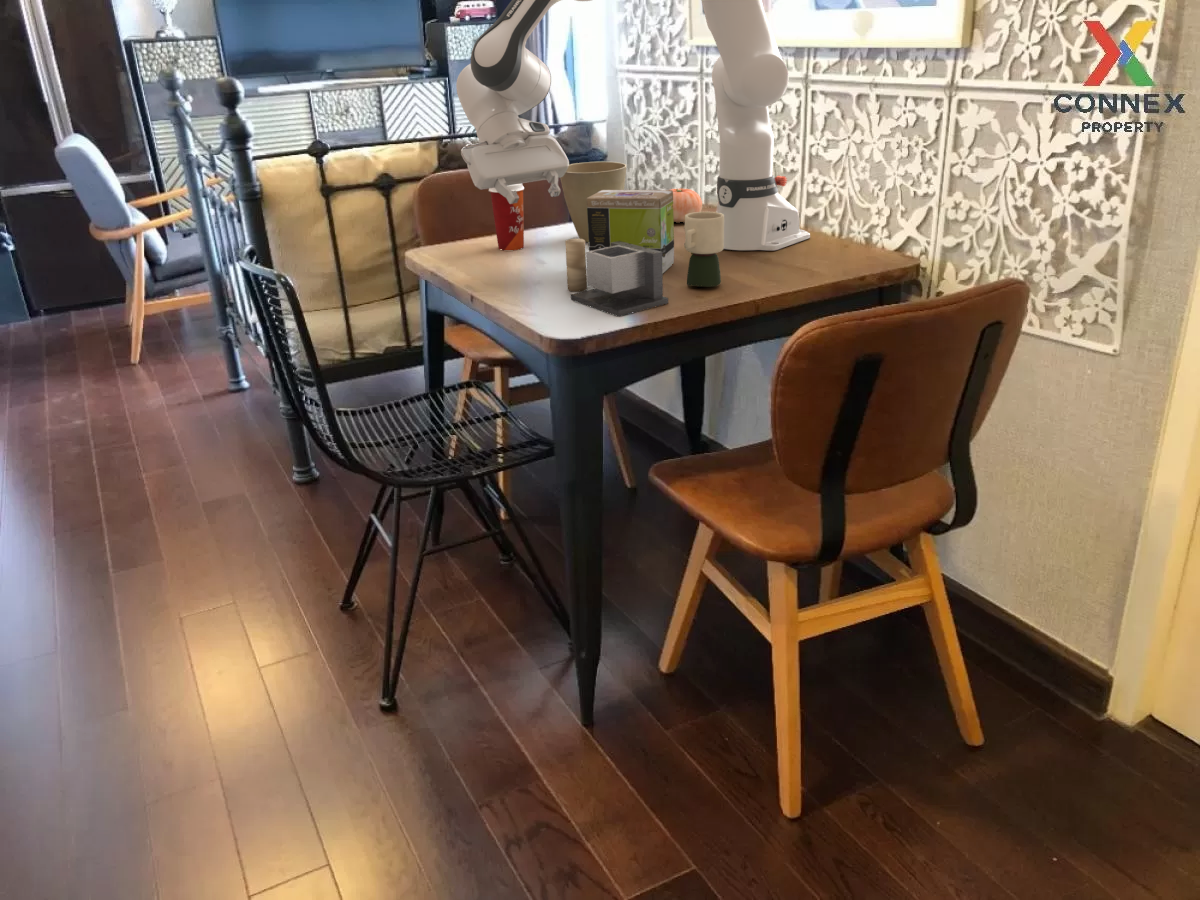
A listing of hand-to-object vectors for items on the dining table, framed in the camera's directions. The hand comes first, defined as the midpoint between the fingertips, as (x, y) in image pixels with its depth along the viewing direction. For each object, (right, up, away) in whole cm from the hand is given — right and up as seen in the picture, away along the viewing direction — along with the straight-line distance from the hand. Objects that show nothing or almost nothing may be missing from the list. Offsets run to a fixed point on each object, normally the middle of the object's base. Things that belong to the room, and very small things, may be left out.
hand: (536, 198), depth 176 cm
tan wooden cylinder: (+8, -18, -3) cm, 20 cm away
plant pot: (+11, 0, +34) cm, 36 cm away
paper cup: (-8, -3, +30) cm, 31 cm away
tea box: (+18, -12, +10) cm, 24 cm away
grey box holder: (+15, -22, -11) cm, 29 cm away
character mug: (+31, -18, -4) cm, 36 cm away
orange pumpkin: (+31, +7, +49) cm, 59 cm away
